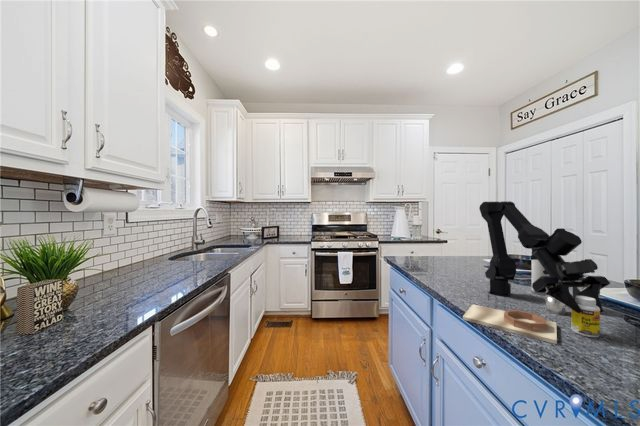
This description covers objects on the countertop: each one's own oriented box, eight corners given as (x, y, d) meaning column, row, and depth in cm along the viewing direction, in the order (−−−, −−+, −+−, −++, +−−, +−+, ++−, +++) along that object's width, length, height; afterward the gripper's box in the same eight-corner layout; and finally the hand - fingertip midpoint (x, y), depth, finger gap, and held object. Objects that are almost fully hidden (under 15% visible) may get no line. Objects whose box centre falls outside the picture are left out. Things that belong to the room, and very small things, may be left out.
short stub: (545, 312, 85) (545, 297, 85) (546, 307, 89) (545, 294, 89) (565, 316, 82) (565, 301, 82) (565, 311, 86) (565, 297, 86)
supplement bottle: (579, 336, 69) (579, 300, 69) (566, 327, 74) (566, 293, 74) (605, 339, 67) (605, 302, 67) (590, 330, 72) (590, 295, 72)
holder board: (462, 319, 80) (462, 310, 80) (472, 306, 90) (472, 298, 90) (556, 344, 65) (556, 332, 65) (556, 325, 75) (556, 315, 75)
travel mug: (556, 295, 101) (556, 246, 101) (540, 295, 101) (540, 246, 101) (543, 290, 107) (543, 244, 107) (527, 290, 108) (527, 244, 107)
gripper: (540, 249, 74) (578, 299, 63) (603, 249, 74) (652, 299, 63) (519, 269, 82) (549, 317, 71) (575, 269, 82) (615, 316, 71)
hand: (590, 312), depth 69 cm, fingers closed on supplement bottle, 5 cm apart
